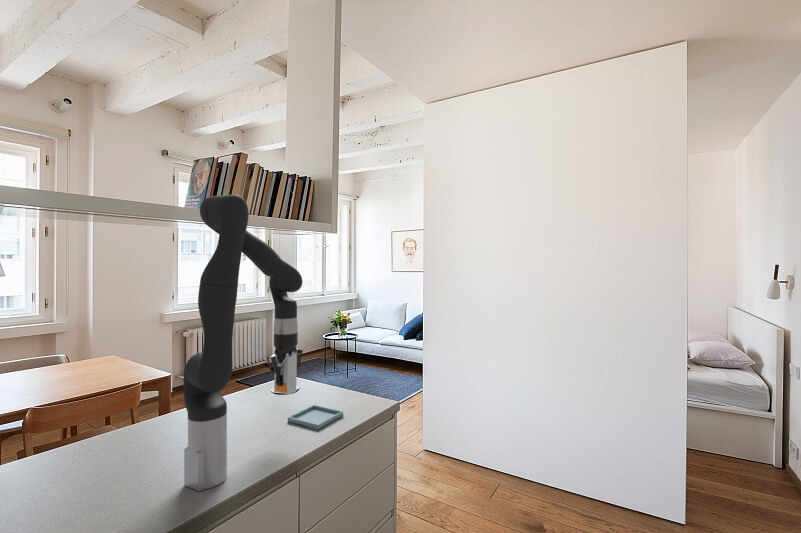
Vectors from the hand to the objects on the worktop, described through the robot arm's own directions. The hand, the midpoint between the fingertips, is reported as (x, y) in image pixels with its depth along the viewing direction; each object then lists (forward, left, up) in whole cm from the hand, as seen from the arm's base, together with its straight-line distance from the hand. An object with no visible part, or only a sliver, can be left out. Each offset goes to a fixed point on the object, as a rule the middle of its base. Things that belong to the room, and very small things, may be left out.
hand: (285, 383), depth 130 cm
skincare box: (0, 0, -3) cm, 3 cm away
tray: (+16, +1, -18) cm, 24 cm away
